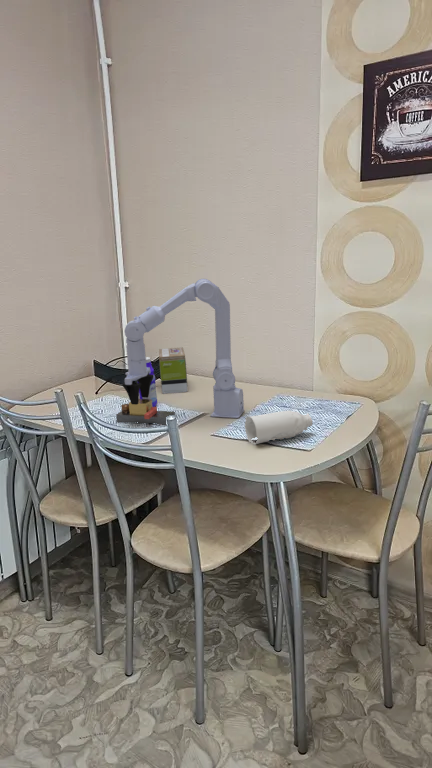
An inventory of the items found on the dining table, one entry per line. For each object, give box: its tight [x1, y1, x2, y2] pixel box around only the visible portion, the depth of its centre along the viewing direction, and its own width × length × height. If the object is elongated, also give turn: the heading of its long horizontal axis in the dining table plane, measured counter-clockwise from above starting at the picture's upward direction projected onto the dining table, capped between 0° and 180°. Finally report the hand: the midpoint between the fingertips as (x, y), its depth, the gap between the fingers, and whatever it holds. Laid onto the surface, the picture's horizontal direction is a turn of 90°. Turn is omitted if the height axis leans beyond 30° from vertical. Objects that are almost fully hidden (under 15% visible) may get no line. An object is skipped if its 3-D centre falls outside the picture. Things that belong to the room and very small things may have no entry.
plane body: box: [115, 403, 176, 426], centre depth 171 cm, size 18×6×5 cm, turn 72°
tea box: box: [158, 346, 189, 395], centre depth 206 cm, size 15×10×15 cm, turn 6°
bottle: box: [139, 356, 158, 407], centre depth 184 cm, size 7×6×17 cm
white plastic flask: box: [244, 410, 313, 445], centre depth 150 cm, size 8×19×8 cm, turn 109°
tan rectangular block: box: [128, 399, 152, 416], centre depth 171 cm, size 6×4×4 cm
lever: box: [144, 406, 158, 419], centre depth 168 cm, size 7×2×2 cm, turn 163°
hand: (140, 400), depth 171 cm, fingers open, 7 cm apart
